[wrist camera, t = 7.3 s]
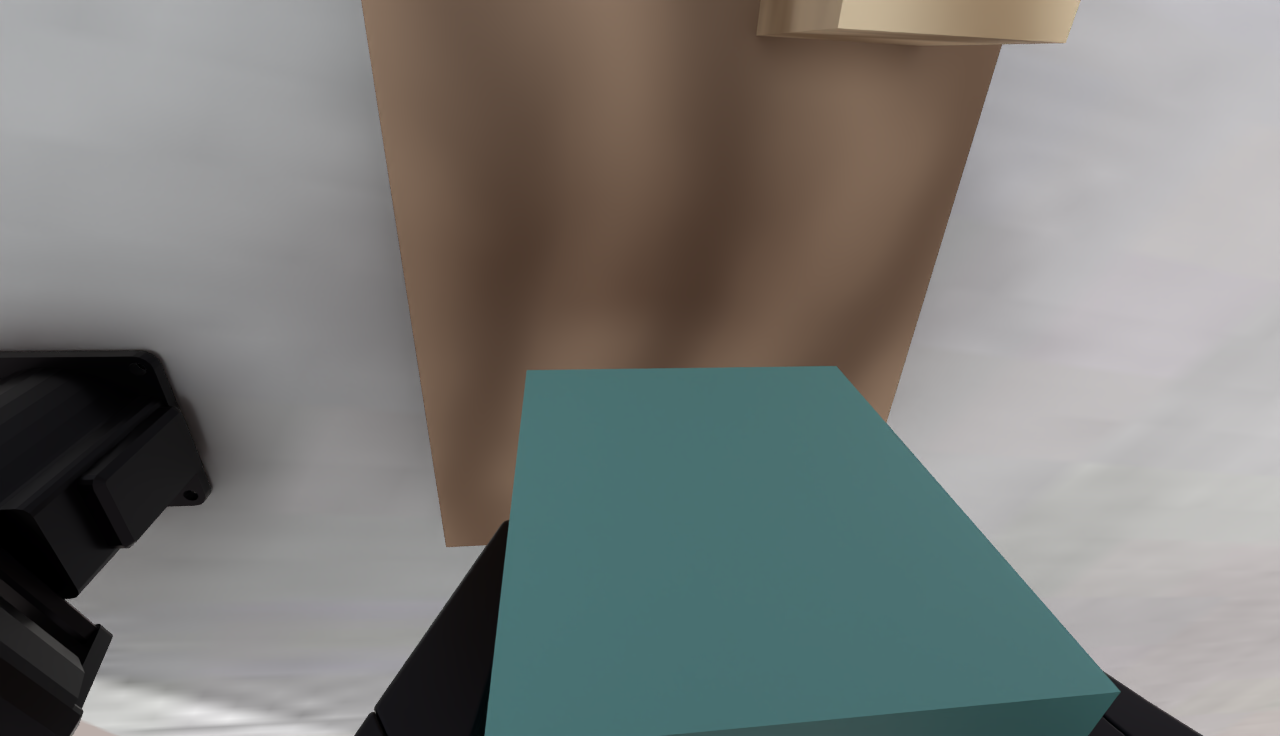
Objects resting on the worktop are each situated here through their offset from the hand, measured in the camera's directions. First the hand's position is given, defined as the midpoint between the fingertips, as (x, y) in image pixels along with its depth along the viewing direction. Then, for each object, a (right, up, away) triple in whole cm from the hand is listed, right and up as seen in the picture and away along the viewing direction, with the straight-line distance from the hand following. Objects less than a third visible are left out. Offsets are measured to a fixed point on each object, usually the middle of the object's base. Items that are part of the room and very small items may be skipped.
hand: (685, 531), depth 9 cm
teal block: (0, 0, +1) cm, 1 cm away
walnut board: (+1, +7, +11) cm, 13 cm away
